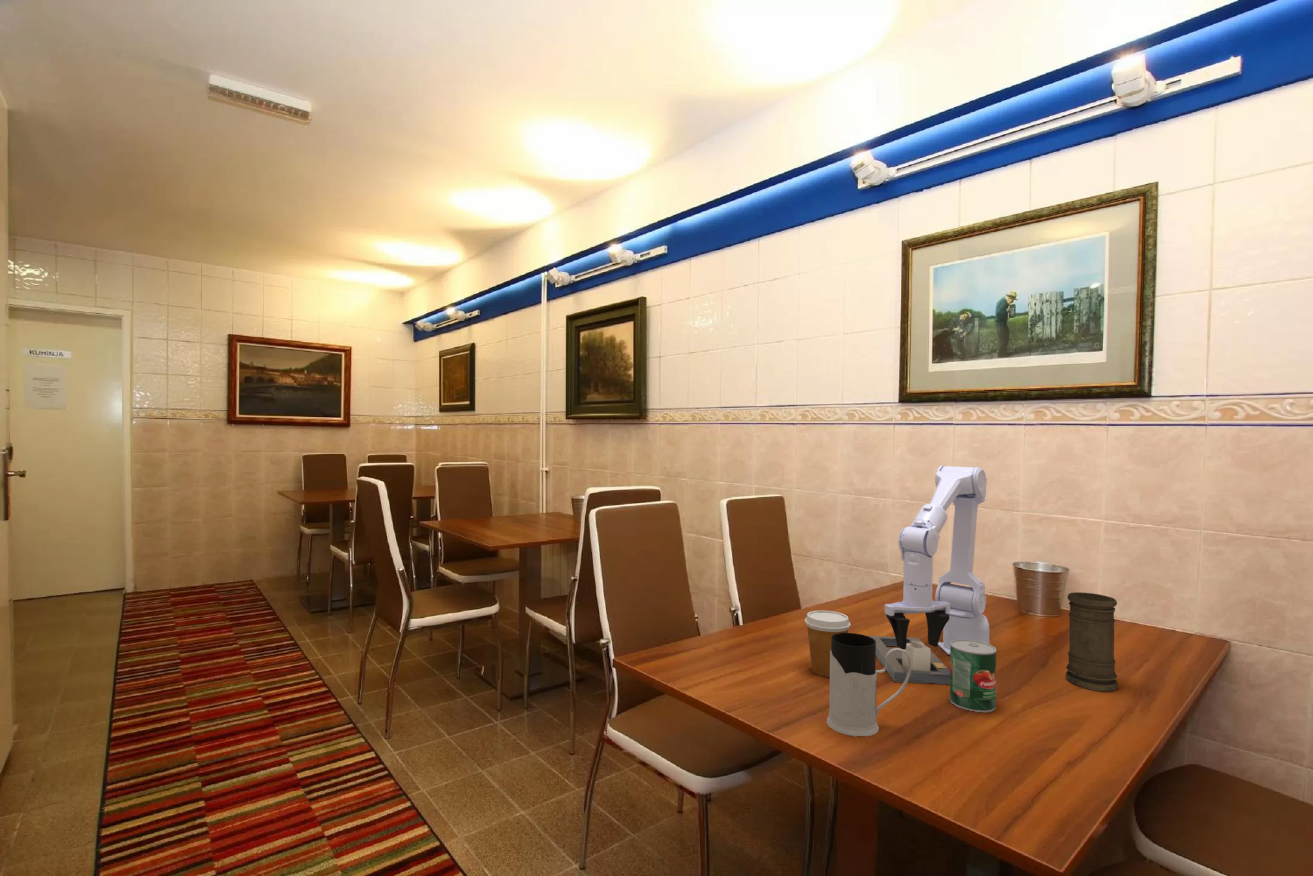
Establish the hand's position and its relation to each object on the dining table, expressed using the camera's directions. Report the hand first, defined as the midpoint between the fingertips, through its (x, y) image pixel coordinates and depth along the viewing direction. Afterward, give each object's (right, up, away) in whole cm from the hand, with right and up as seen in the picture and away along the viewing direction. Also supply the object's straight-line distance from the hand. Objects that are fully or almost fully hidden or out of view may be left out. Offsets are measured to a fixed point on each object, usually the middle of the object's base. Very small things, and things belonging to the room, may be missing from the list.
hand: (917, 646), depth 133 cm
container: (+35, -7, -4) cm, 35 cm away
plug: (0, -6, 0) cm, 6 cm away
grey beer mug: (-19, -6, -24) cm, 31 cm away
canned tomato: (+4, -6, -15) cm, 17 cm away
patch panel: (+1, -6, +7) cm, 9 cm away
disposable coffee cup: (-19, -6, +1) cm, 20 cm away
